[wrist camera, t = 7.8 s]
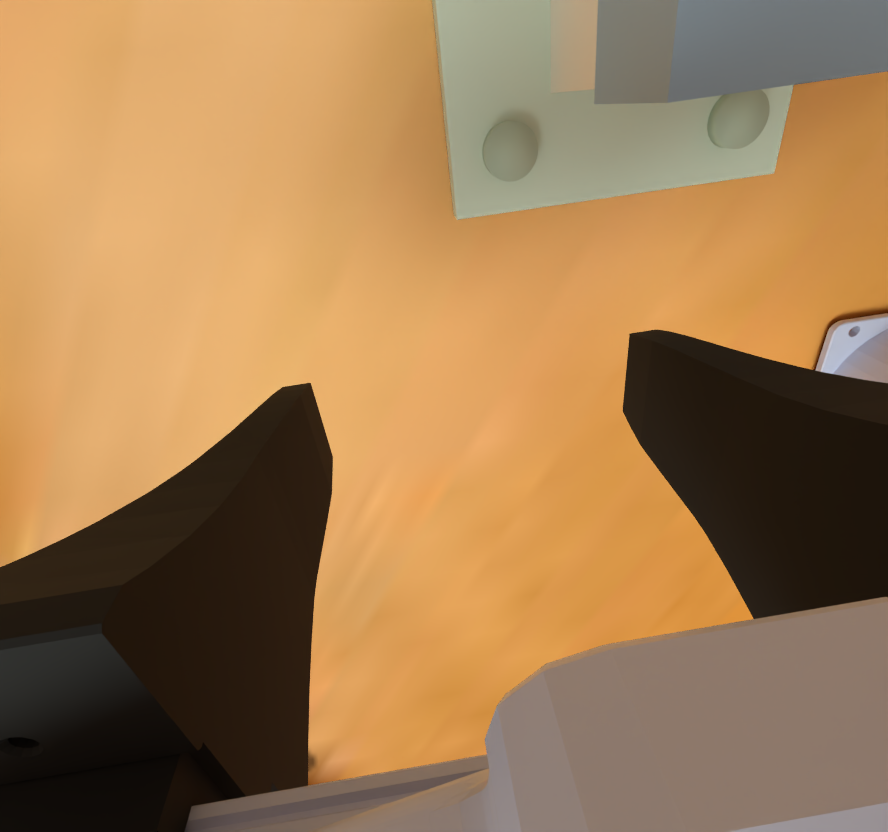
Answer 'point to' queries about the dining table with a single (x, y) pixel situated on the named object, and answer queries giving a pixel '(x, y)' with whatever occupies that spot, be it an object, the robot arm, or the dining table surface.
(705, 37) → the blue block
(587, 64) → the cream block
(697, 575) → the dining table surface
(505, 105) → the baseplate
